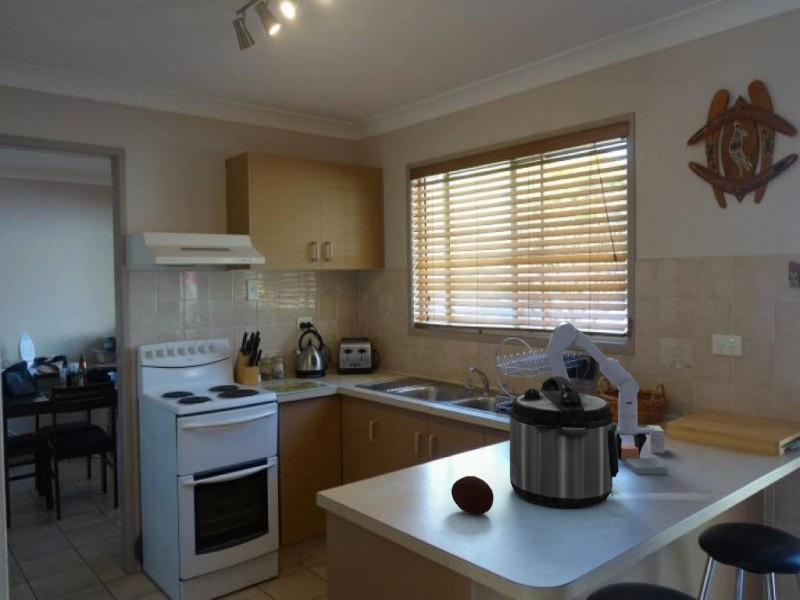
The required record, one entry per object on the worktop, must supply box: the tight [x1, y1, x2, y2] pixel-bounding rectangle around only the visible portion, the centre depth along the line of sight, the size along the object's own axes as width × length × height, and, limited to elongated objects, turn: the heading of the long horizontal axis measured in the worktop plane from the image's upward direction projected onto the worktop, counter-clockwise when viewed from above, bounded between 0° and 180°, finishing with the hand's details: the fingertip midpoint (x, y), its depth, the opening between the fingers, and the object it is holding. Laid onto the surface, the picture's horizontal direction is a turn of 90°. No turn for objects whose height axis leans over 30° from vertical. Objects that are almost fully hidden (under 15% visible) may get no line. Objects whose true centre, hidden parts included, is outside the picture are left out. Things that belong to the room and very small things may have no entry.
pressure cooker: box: [509, 376, 620, 509], centre depth 171 cm, size 30×28×32 cm
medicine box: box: [645, 424, 666, 454], centre depth 208 cm, size 8×4×9 cm, turn 168°
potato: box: [450, 475, 495, 515], centre depth 158 cm, size 9×12×9 cm
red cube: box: [620, 444, 640, 461], centre depth 199 cm, size 5×5×5 cm
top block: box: [624, 457, 668, 475], centre depth 187 cm, size 9×9×2 cm
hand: (627, 457), depth 199 cm, fingers closed on red cube, 5 cm apart
